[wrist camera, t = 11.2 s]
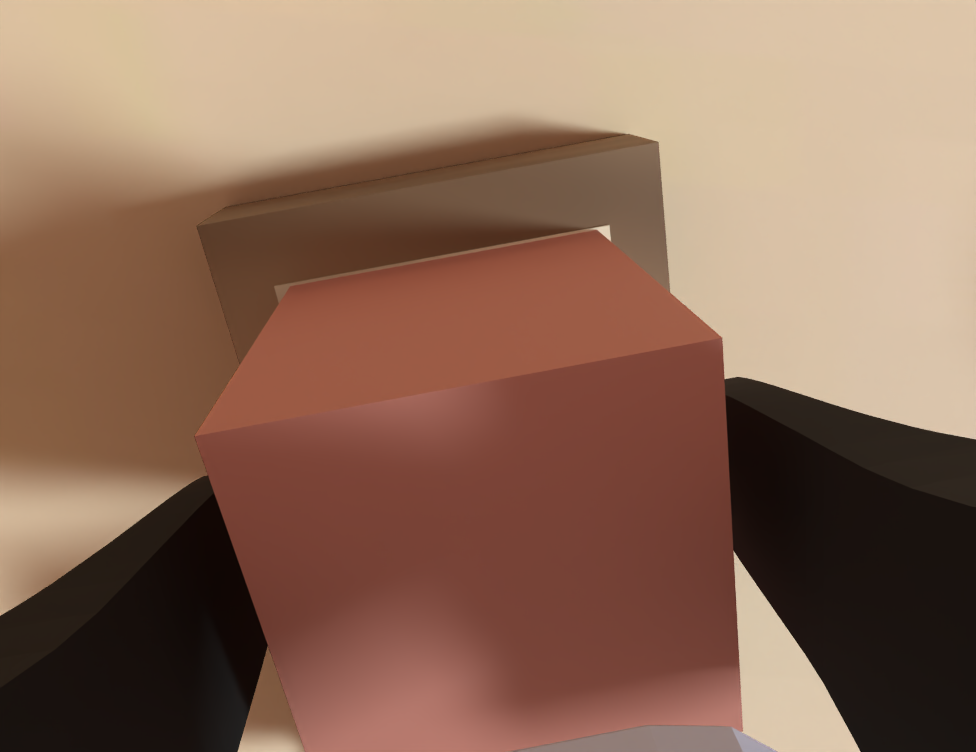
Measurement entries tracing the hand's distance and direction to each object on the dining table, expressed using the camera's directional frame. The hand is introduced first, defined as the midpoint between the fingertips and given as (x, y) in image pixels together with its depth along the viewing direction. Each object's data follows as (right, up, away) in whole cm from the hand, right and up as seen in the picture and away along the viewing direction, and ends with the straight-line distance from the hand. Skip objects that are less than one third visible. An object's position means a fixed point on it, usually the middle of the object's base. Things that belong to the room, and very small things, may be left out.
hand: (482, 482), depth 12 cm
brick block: (0, +1, +3) cm, 3 cm away
